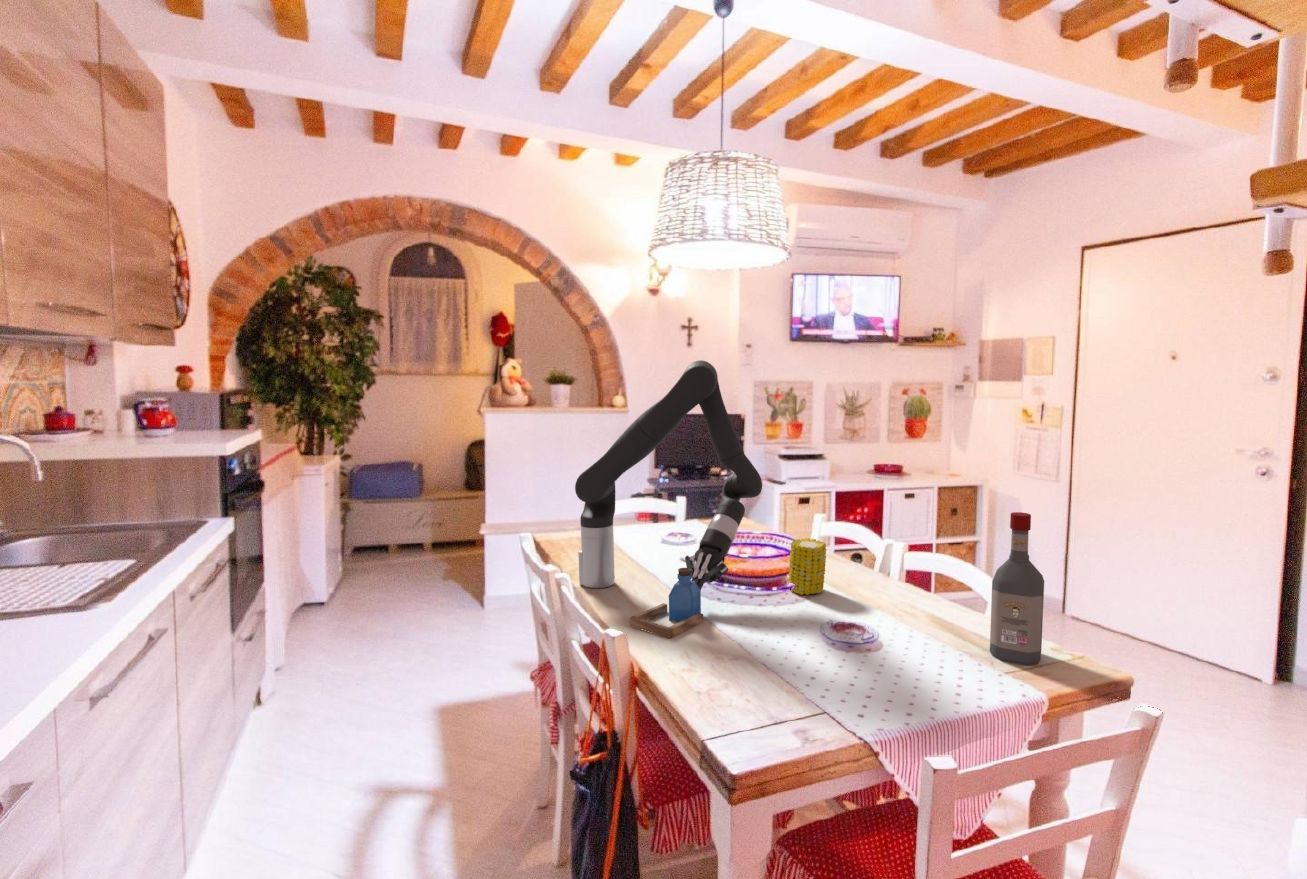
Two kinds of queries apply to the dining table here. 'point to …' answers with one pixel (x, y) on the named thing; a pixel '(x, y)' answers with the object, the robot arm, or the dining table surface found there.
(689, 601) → the perfume bottle
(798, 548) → the food
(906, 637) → the dining table surface
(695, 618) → the frame
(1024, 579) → the liquor
